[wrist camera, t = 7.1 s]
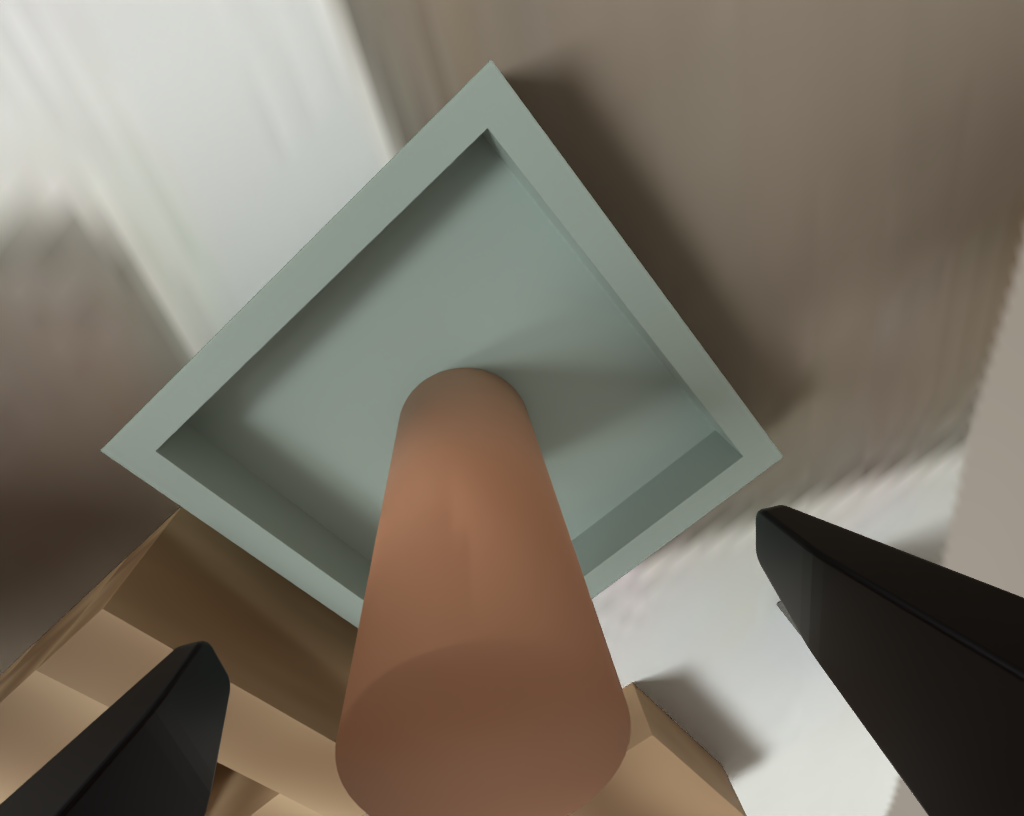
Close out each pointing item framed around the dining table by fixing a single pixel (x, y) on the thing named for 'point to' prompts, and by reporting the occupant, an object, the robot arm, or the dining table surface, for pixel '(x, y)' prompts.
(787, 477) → the dining table surface
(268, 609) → the socket block
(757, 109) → the dining table surface
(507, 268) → the tray
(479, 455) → the dowel
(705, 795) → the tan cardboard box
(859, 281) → the dining table surface
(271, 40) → the dining table surface
